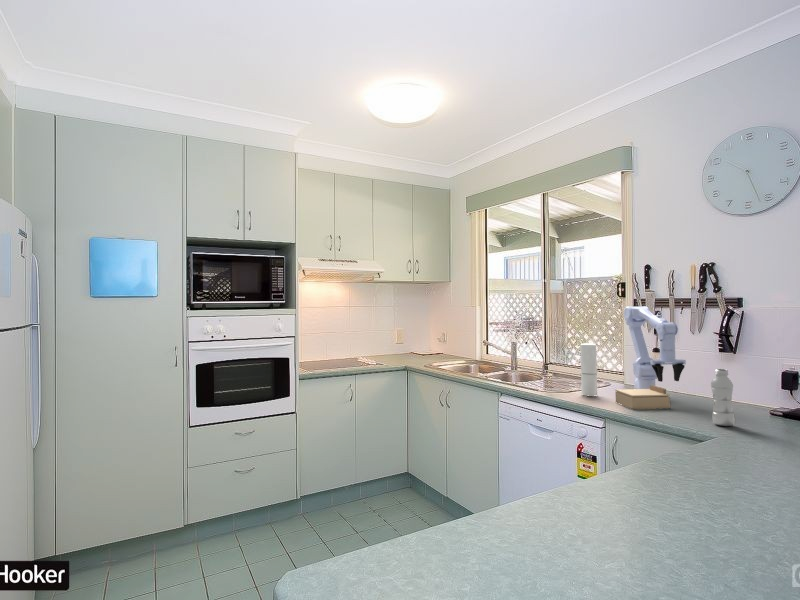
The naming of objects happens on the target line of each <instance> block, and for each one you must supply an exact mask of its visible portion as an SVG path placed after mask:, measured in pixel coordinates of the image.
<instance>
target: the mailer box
mask: <svg viewBox="0 0 800 600" xmlns="http://www.w3.org/2000/svg"><path fill="white" fill-rule="evenodd" d="M670 397H671V396H650V397H631V396H628V395H625V394H623V393H620V392H617V391H615V403H616V402H617V403H616V404H618V403H620V404H622V405H621V406H623V405H624V406H623V407H625V406H626V407H625V408H627V407H628V409H630V408H631V409H630V410H632V409H635V410H657V409H656V408H670V409H671V404H670V403H671V400H670ZM620 404H619V405H620Z"/></svg>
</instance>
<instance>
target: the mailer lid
mask: <svg viewBox="0 0 800 600" xmlns="http://www.w3.org/2000/svg"><path fill="white" fill-rule="evenodd" d="M614 390H615V392H620V393H623V394H625V395H628V396H631V397H650V396H669V397H671V396H670V393H669V394H668V393H667V388H663V387H660V386H656V385H655V386H654V385H650V389H635V388H632V389H631V388H630V389H629V388H627V389H626V388H625V389H624V388H623V389H621V388H620V389H614Z"/></svg>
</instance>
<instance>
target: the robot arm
mask: <svg viewBox="0 0 800 600" xmlns="http://www.w3.org/2000/svg"><path fill="white" fill-rule="evenodd" d="M623 317H624V321H625V324H626V325H627V326H628V329H629V333H630V337H631V340H632V343H633V348H634V351H635V355H636V359H635V361H634V362H633V363H632V365H633V368H632V369H633V370H632V372H633V375H634V376H635V380H634V389H650V385H654V386H656V380H657V381H658V382H663V380H664V379H663V378H664V377H663V376H664V375H663V373H664V369H665V368H664V367H665V366H663V365H672V370H673V381H674V382H675V381H676V382H680V378H681V376H682V375H681V374H682V372H683V370H684V369H685V365H686V363H687V362H686V359H683V358H681V359H678V358H677V359H676V335H677V334H678V331H679V328H678V325H677V323H675V321H671V322H669V321H668V320H667V319H665V318H663V317H662V315H660V314H656V315H655V314H653V313H652V312H651V311H650V308H649V307H647V306H646V305H643V306H629V305H628V306H626V307H625V308H624V311H623ZM647 322H648V324H649V325H650V326H651V328H653V329H655V330H656V334H657V336H658V337H657V338H658V340H659V359H653V358H651V357H650V356H649V351H648V348H647V344H646V341H645V340H646V339H645V337H644V334H643V331H642V326H643V325H645V324H646V323H647Z"/></svg>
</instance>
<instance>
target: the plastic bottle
mask: <svg viewBox="0 0 800 600" xmlns="http://www.w3.org/2000/svg"><path fill="white" fill-rule="evenodd" d="M714 375H715V376H714V378H713V379H712V381H710V387H711V392H712V398H713V400H712V401H713V406H712V409H713V410H712V416H711V419H712V422H713V423H714V425H717V426H722V427H730V426H731V427H732V426H734V424H735V419H736V417H735V414H734V409H733V403H732V402H733V391H734V389H733V388H734V384H733V382H732V381H731V379H730V378H729V377H728V375H729V370H728V369H726V368H725V369H724V368H723V369H721V368H717V369H715V372H714Z"/></svg>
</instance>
